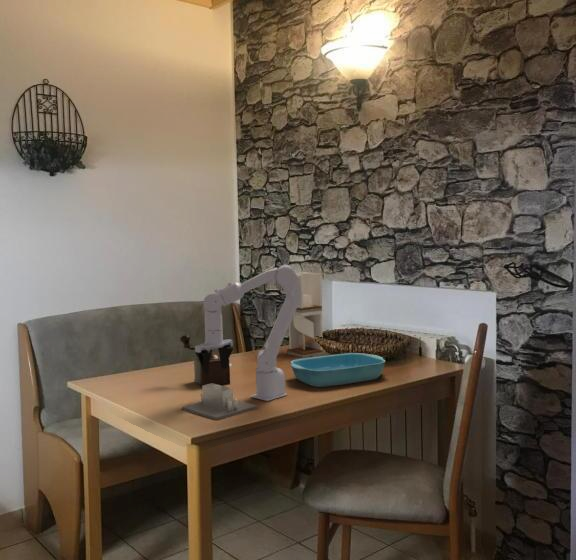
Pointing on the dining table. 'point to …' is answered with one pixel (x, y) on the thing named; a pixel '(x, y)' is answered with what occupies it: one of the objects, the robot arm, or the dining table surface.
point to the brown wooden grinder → (215, 371)
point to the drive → (217, 396)
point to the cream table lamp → (307, 317)
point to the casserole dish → (338, 369)
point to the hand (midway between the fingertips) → (215, 370)
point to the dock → (217, 413)
